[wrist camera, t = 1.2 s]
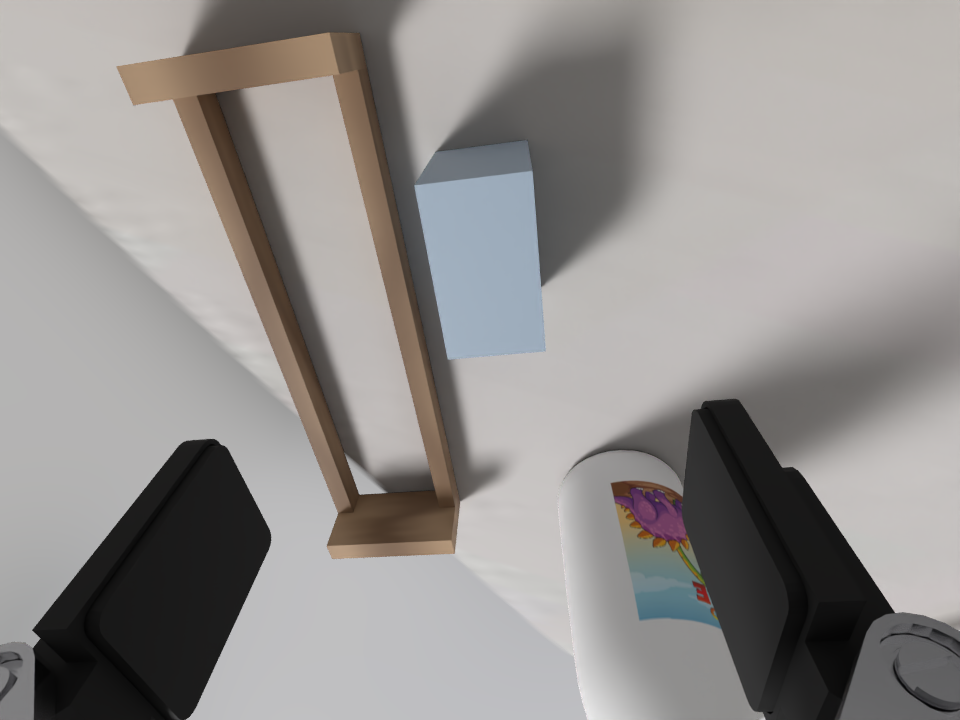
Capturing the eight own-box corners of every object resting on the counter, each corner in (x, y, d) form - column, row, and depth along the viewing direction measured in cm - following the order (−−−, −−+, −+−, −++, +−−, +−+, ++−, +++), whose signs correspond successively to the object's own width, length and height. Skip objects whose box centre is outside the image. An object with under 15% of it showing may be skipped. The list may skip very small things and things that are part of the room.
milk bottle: (597, 546, 36) (676, 1004, 19) (532, 481, 33) (557, 957, 16) (701, 500, 33) (904, 991, 16) (640, 425, 30) (812, 933, 13)
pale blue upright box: (527, 139, 22) (532, 170, 17) (538, 288, 26) (545, 351, 21) (435, 151, 22) (414, 185, 17) (459, 296, 26) (447, 359, 21)
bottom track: (359, 33, 20) (329, 32, 17) (460, 502, 34) (454, 553, 31) (179, 61, 21) (116, 66, 18) (349, 508, 35) (332, 558, 31)
